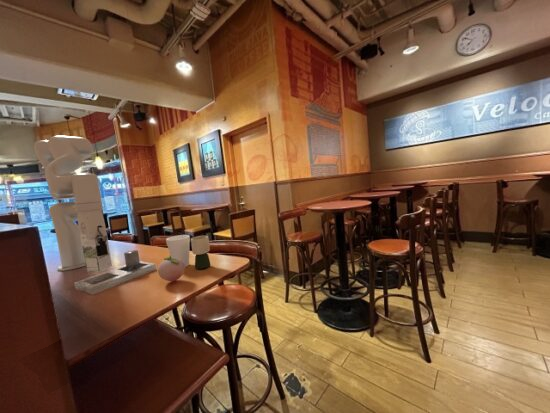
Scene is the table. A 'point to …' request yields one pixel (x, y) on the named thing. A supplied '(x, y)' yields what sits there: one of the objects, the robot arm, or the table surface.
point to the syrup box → (94, 255)
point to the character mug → (201, 251)
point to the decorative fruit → (171, 269)
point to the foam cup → (179, 248)
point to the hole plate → (116, 274)
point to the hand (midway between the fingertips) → (97, 254)
